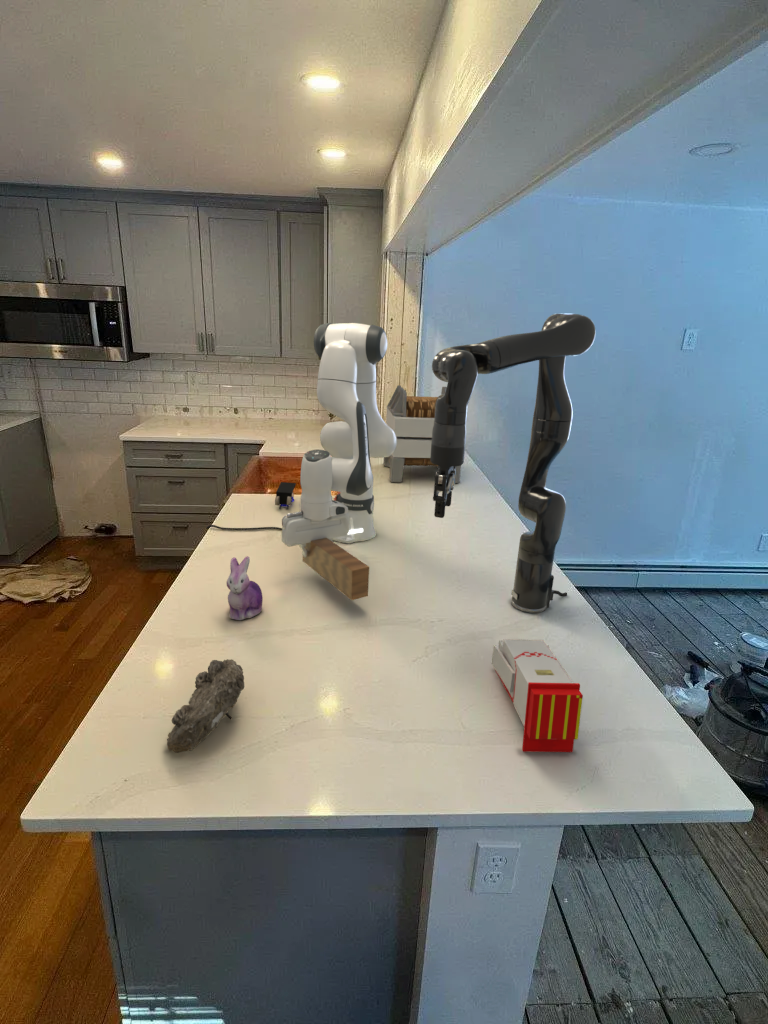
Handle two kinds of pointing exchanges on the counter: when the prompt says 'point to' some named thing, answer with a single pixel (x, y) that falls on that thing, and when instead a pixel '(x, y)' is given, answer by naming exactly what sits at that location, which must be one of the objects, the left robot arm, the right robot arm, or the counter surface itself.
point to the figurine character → (285, 494)
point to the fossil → (206, 705)
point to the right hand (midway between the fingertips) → (442, 511)
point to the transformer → (411, 432)
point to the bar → (338, 568)
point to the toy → (539, 694)
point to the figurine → (243, 592)
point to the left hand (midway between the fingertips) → (315, 554)
